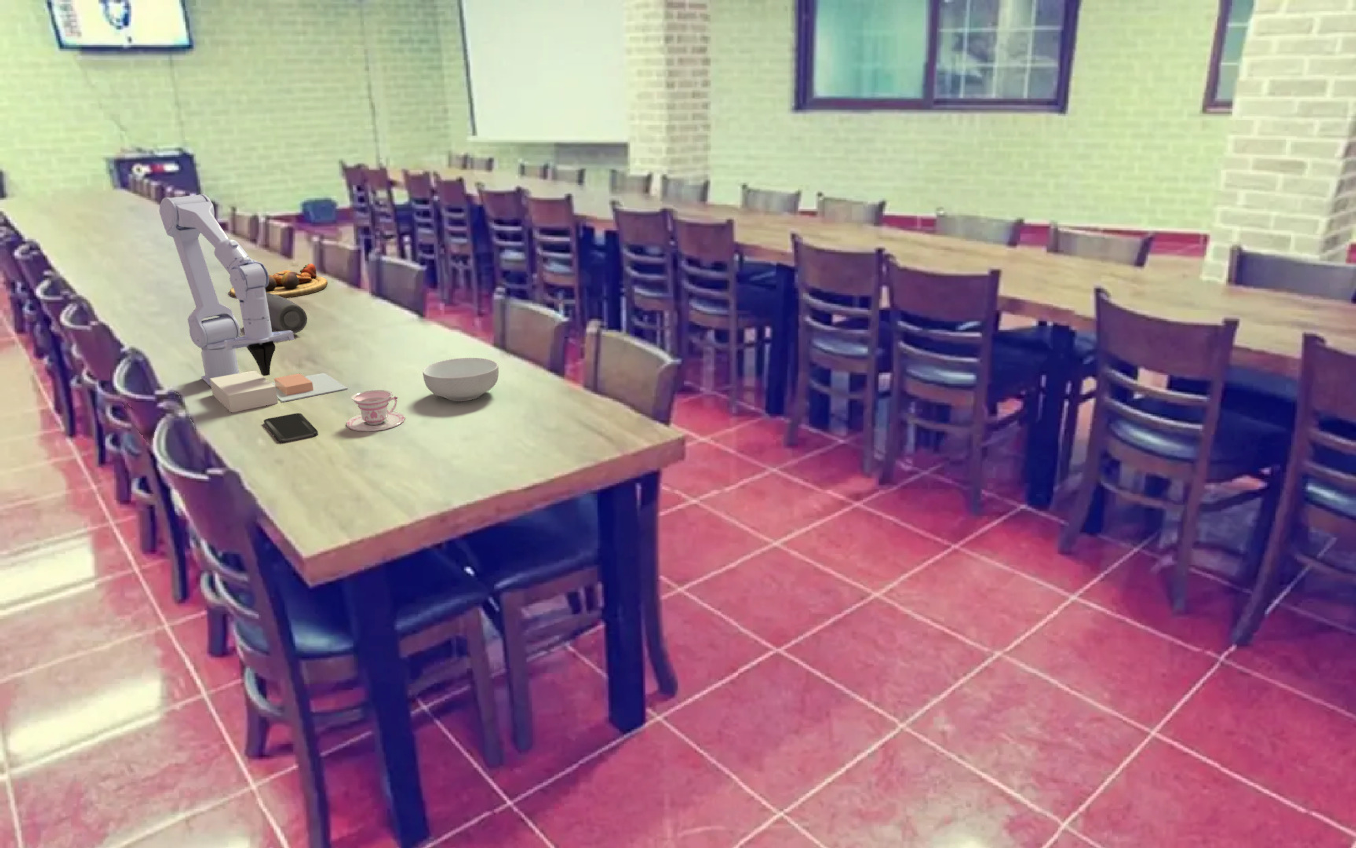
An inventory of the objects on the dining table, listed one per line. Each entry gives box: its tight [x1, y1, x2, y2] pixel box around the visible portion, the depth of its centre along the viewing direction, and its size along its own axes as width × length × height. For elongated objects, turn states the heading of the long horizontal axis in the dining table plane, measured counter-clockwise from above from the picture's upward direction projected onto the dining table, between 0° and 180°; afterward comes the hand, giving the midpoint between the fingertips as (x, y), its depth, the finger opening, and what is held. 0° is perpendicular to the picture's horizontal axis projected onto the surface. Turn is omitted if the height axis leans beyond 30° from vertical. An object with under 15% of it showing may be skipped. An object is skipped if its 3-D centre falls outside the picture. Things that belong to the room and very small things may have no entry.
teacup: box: [346, 389, 406, 432], centre depth 198 cm, size 12×12×6 cm
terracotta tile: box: [273, 373, 313, 395], centre depth 220 cm, size 9×6×2 cm, turn 39°
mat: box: [271, 372, 349, 403], centre depth 222 cm, size 16×15×1 cm
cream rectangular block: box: [210, 370, 279, 413], centre depth 214 cm, size 16×10×4 cm, turn 38°
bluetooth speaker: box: [266, 293, 308, 334], centre depth 272 cm, size 23×9×10 cm, turn 42°
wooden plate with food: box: [229, 263, 329, 299], centre depth 326 cm, size 32×32×8 cm
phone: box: [263, 412, 319, 444], centre depth 196 cm, size 8×1×15 cm
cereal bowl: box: [422, 357, 499, 402], centre depth 214 cm, size 17×17×7 cm
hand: (265, 374), depth 216 cm, fingers closed
